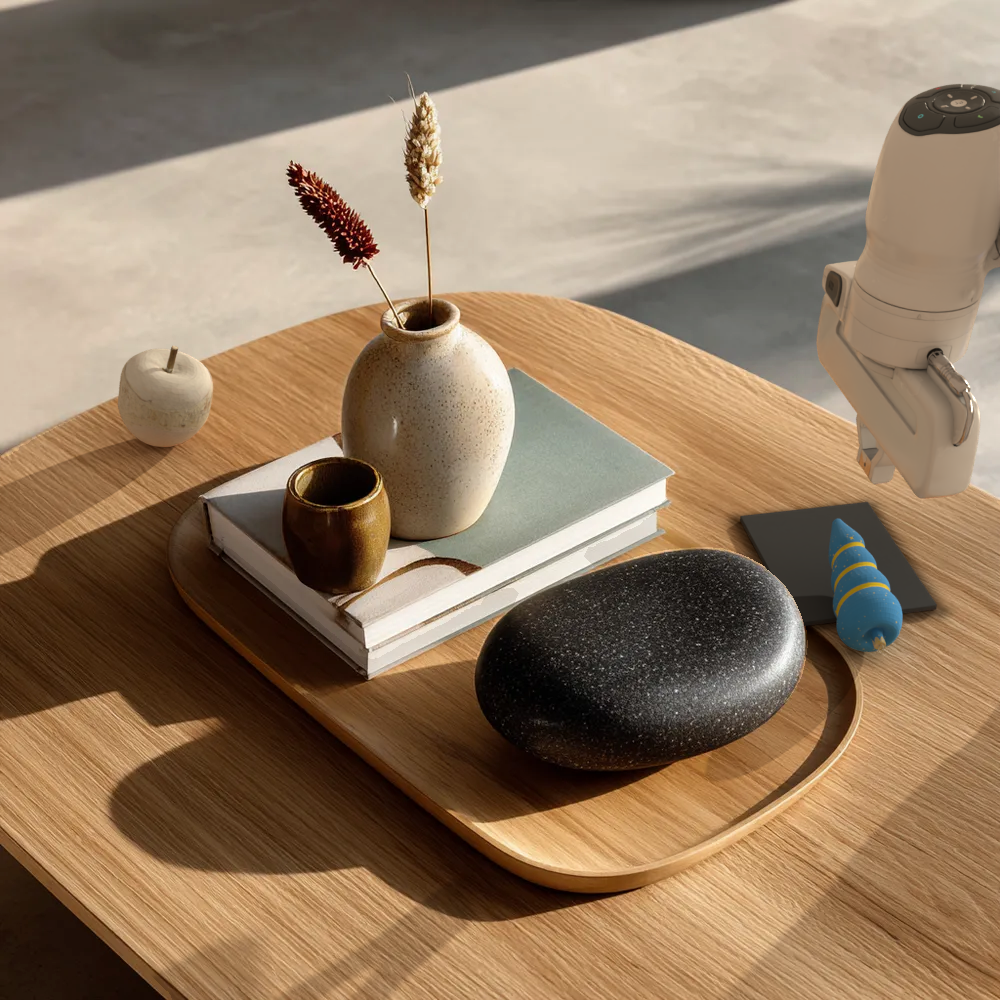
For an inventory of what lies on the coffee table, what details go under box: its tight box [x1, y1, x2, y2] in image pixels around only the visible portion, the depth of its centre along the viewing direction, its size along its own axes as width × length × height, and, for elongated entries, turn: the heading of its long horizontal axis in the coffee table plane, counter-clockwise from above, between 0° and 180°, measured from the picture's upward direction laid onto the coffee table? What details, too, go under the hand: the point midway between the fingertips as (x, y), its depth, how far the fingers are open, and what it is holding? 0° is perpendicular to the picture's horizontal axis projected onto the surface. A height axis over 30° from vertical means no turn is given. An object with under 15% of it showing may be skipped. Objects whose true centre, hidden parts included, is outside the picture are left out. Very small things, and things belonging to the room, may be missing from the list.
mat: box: [739, 501, 938, 627], centre depth 113 cm, size 12×14×1 cm
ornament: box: [828, 519, 904, 655], centre depth 107 cm, size 5×5×15 cm
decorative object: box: [117, 345, 214, 448], centre depth 123 cm, size 9×9×10 cm
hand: (873, 472), depth 104 cm, fingers closed
